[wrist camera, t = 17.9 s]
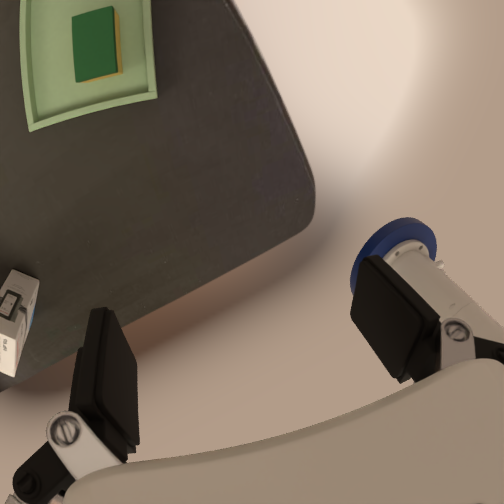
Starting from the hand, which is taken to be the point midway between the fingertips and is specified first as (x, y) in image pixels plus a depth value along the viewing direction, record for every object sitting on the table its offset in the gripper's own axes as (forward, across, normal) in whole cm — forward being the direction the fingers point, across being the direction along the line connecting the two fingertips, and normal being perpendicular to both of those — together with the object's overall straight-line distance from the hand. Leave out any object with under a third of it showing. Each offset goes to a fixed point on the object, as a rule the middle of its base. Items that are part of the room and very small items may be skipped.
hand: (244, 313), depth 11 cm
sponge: (+25, +8, -14) cm, 30 cm away
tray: (+26, +10, -17) cm, 32 cm away
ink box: (+26, +28, +14) cm, 41 cm away
